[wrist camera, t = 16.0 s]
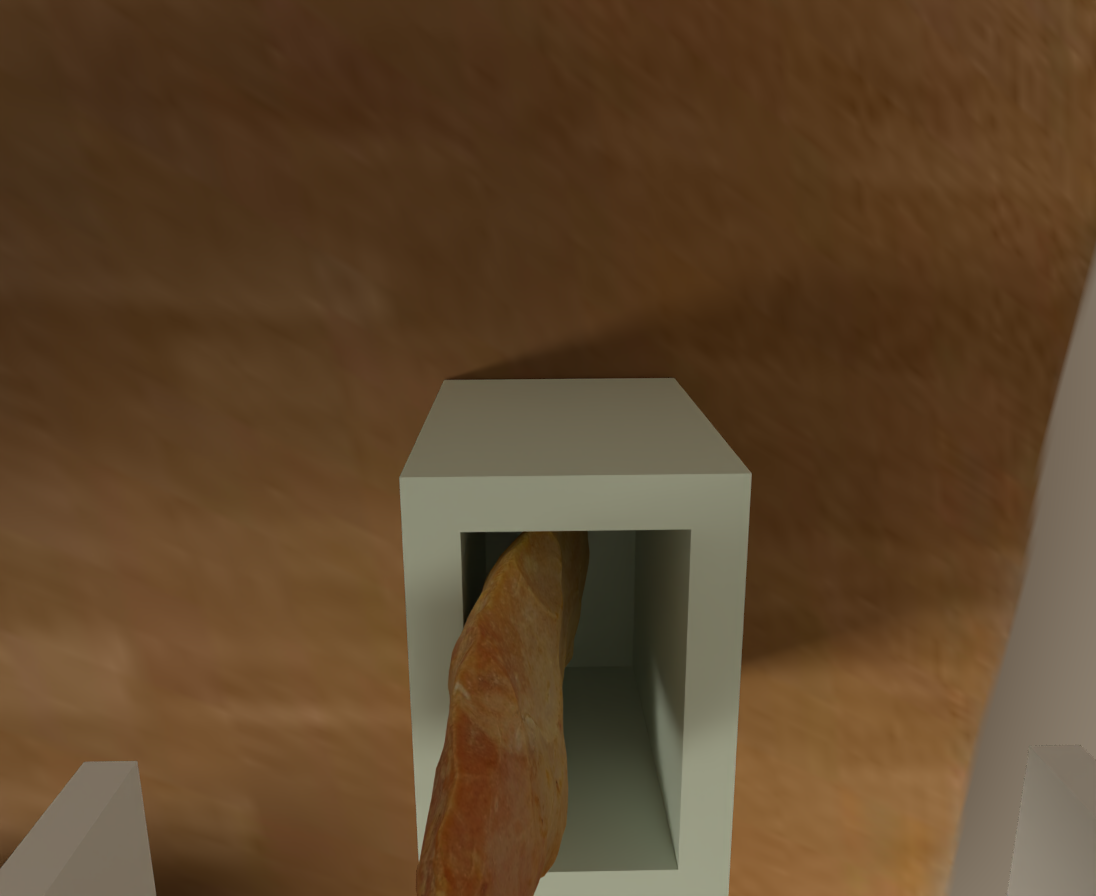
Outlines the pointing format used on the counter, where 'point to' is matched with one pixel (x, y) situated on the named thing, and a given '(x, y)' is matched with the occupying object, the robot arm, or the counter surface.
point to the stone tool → (507, 726)
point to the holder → (596, 608)
